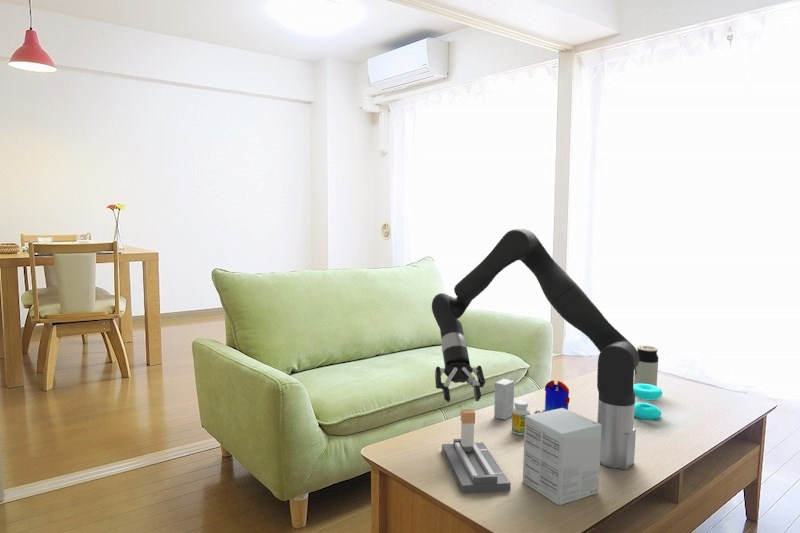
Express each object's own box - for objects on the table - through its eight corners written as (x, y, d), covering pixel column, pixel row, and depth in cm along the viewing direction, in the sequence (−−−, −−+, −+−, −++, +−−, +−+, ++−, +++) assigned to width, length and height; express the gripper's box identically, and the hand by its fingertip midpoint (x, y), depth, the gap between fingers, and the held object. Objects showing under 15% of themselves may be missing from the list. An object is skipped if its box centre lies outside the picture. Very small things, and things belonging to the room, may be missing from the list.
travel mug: (657, 392, 210) (660, 347, 208) (654, 398, 203) (657, 351, 202) (635, 389, 214) (637, 344, 212) (631, 394, 207) (634, 348, 206)
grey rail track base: (441, 450, 155) (442, 438, 155) (482, 449, 157) (483, 437, 156) (462, 493, 132) (462, 479, 131) (510, 490, 133) (510, 476, 133)
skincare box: (502, 412, 187) (503, 378, 185) (513, 415, 184) (514, 380, 183) (493, 417, 182) (494, 382, 181) (504, 420, 179) (506, 385, 178)
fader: (459, 447, 152) (460, 409, 151) (471, 447, 153) (472, 409, 152) (462, 452, 149) (463, 413, 148) (474, 451, 150) (475, 412, 149)
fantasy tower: (531, 414, 186) (532, 379, 184) (550, 406, 193) (552, 373, 192) (561, 424, 177) (563, 388, 176) (581, 415, 185) (582, 381, 183)
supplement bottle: (520, 427, 173) (521, 398, 172) (532, 433, 169) (533, 403, 168) (507, 431, 170) (508, 401, 169) (520, 437, 166) (521, 406, 165)
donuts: (635, 390, 180) (626, 381, 190) (634, 420, 181) (624, 409, 191) (667, 392, 179) (656, 383, 189) (665, 421, 180) (654, 411, 190)
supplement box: (560, 470, 144) (562, 406, 142) (599, 493, 133) (603, 424, 131) (521, 481, 138) (523, 414, 136) (559, 506, 126) (562, 433, 125)
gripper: (433, 344, 162) (440, 395, 151) (480, 344, 163) (490, 393, 153) (430, 357, 167) (436, 407, 157) (475, 356, 169) (484, 405, 159)
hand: (463, 400), depth 155 cm, fingers open, 8 cm apart
